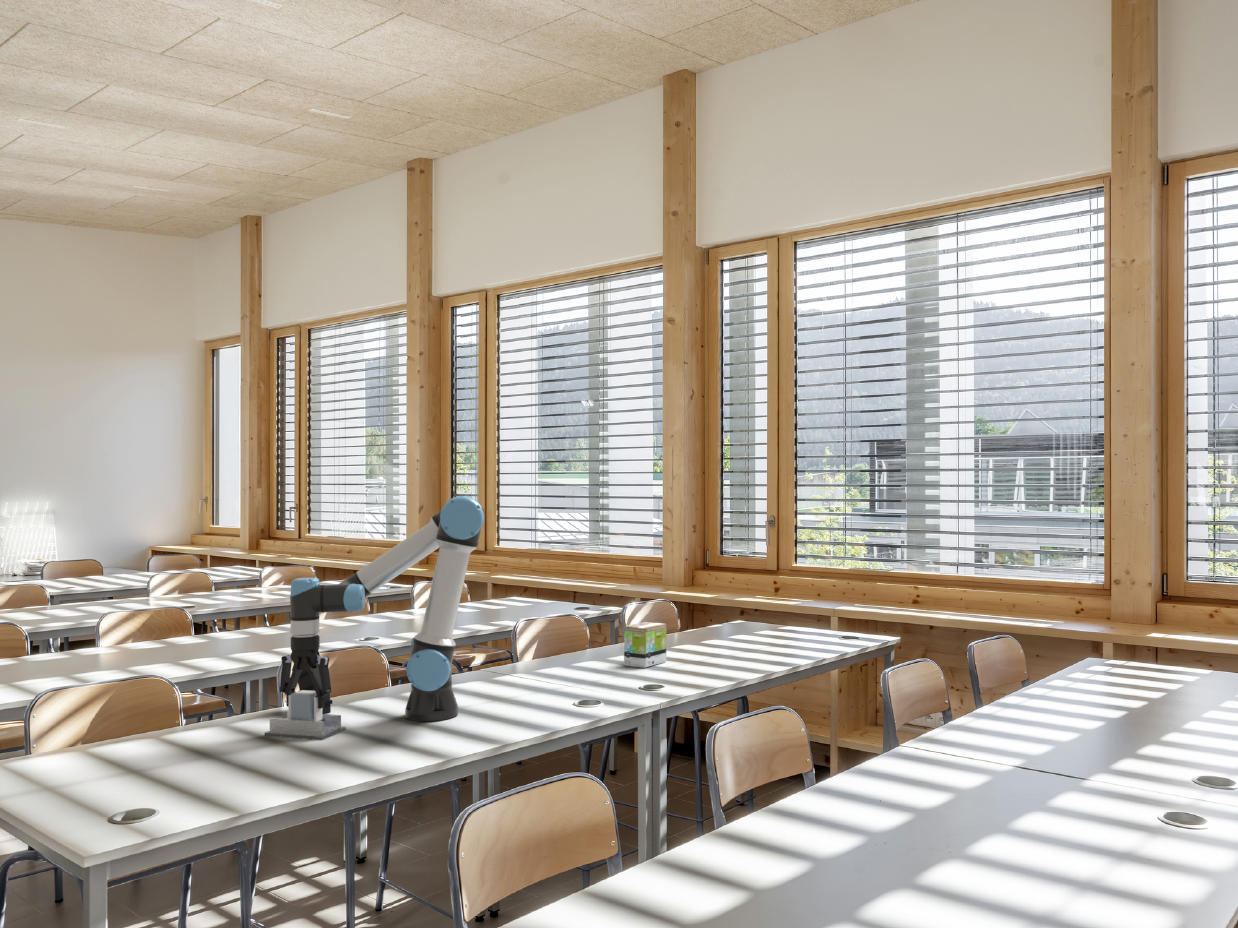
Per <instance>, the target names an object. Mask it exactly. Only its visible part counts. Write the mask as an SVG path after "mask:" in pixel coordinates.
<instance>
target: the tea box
mask: <svg viewBox="0 0 1238 928" xmlns="http://www.w3.org/2000/svg"><path fill="white" fill-rule="evenodd" d="M623 630H624V631H623V632H624V634H623V643H624V644H623V666H626V667H633V668H643V669H644V668H645V669H647V667H651V666H655V665H656V666H657V665H658V664H663V663H667V623H663V622H662V623H661V622H649V621H648V622H647V621H644V622H639V623H638V622H637V623H635V624H629V625H624V628H623Z"/></svg>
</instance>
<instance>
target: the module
mask: <svg viewBox="0 0 1238 928" xmlns="http://www.w3.org/2000/svg"><path fill="white" fill-rule="evenodd" d="M315 696H317V695H316V692H315V691H309V690H301V691H300V690H298V691H296V692H295V693H292V694H291V719H296V720H311V721H314V697H315ZM319 721H320V720H319Z"/></svg>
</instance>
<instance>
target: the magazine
mask: <svg viewBox="0 0 1238 928" xmlns="http://www.w3.org/2000/svg"><path fill="white" fill-rule="evenodd" d="M318 662H319V661H318ZM318 662H317V665H318V668H319V664H318ZM318 672H319V674H320V670H318ZM297 686H298V688H299V689H298V691H301V690H309V691H315V689H314V686H313V683H312V680H311V677H310V674H309V673H308V672H307V670H304V669H303V670H302V671H301V674H300V677H299V680H298V683H297ZM332 704H333V700H332V699H331V693H329V694H326V695H325V706H324V708H322V714H331V712H332V709H331V706H332Z"/></svg>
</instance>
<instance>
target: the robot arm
mask: <svg viewBox="0 0 1238 928" xmlns="http://www.w3.org/2000/svg"><path fill="white" fill-rule="evenodd" d="M484 521H485V513H484V509H483V507H482V506H481V504H480V503H479V501H478V500H477V499H474V498H473V497H471V496H468V495H458V496H454V497H452V498H450V499H449V500H447V501H446V502H445V503H444V505H443V506H442V508H441V510H439V511H438V512H437V513H436V514H434V515H433V516H431V517H430V520H429V522H428V523H427V524H425V525H424V526H422V527H421V528H420V529H418V530H417V531H415V532H414V533H412V534H411V535H409V536H408V537H407V538H404V540H402V541H401V542H398V544H396V545H394V546H393V547H392V548H390V549H389V550H387V551H385V552H384V553H382V554H381V555H380V556H378V557H377V558H375V559H373V560H372V561H371V562H369V563H368V564H366V565H365V566H364V567H362V568H361V569H359V570H358V571H356V572H355V573H353V574H352V575H350V576H349V577H347V578H346V579H344V580H342V581H340V582H339V584H321V583H320V579H319V578H317V577H298V578H294V579H293V580H292V581H291V583H290V594H289V600H290V602H289V604H290V605H289V606H290V608H289V609H290V633H289V634H290V635H291V636H290V650H291V653H290V654H287V655H283V656H281V664H282V666H281V674H280V675H281V676H280V683H279V692H280V693H284V694H285V697H286V698H285V699H286V700H285V702H286V707H288V712H289V719H291V694H292V693H295V692H297V691H296V689H297V686H298V680H299V677H300V674H301V671H302V670H303V669H304V670H307V672H308V673H309V674H310V677H311V680H312V683H313V686H314V689H315V692H316V695H317V696H315V697H314V721H319V720H322V708H324V706H325V695H326V694H329V693H330V694H331V693H332V684H331V676H330V668H329V662H330V657H329V656H322V655H321V654H320V652H319V649H320V647H321V645H320V644H321V643H320V637H321V636H319V633H320V614H321V613H353V612H354V613H355V612H361V611H363V610H364V609H365V603H366V598H367V597H369V596H370V595H371V594H373V593H374V592H376V591H377V590H379V589H380V588H382V587H383V586H384V585H386V584H388V583H389V582H391V581H392V580H393V579H395V578H396V577H398V576H399V575H401V574H403V572H405V571H407V570H408V569H410V568H411V567H412V566H414V565H415V564H418V562H420V561H422V560H423V559H425V558H426V557H428V556H429V555H430V554H432V553H434V552H435V551H436V550H438V554H437V558H436V559H437V560H436V563H435V568H434V571H433V575H432V576H433V577H432V580H431V585H430V589H429V594H428V599H427V604H426V607H425V613H424V616H423V621H422V626H421V630H420V632H419V633H416V634H415V635H414V637H412V638H411V641H410V646H409V648H410V653H409V658H408V661H407V664H406V668H405V671H406V672H405V673H406V676H407V678H408V681H409V682H410V685H411V687H410V693H409V696H408V699H407V703H406V706H405V711H404V712H405V713H404V715H405V716H404V717H405V719H407V720H410V721H415V722H437V721H444V720H449V719H452V718H455V717H457V716H458V715H459V705H458V702H457V699H456V697H455V693H454V690H453V676H452V675H453V659H454V654H455V650H456V645H457V643H456V642H455V640H454V639H453V633H454V629H455V624H456V621H457V620H456V618H457V615H458V611H459V606H460V603H461V602H460V601H461V599H462V598H461V596H462V593H463V592H462V591H463V588H464V583H465V579H466V574H467V569H468V565H469V561H470V556H471V553H472V552H473V551H475V550H477V549H478V545H479V540H480V535H481V532H482V528H483V525H484ZM318 661H319V662H318ZM317 662H318V664H319V668H318V665H317ZM292 664H293V666H292ZM318 670H320V674H319V672H318Z"/></svg>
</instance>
